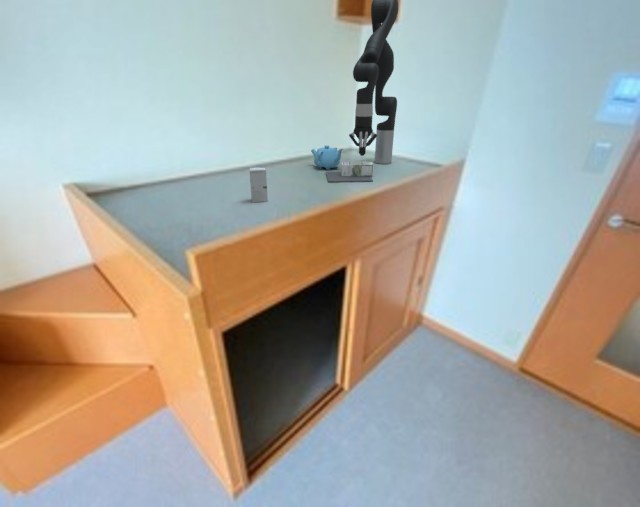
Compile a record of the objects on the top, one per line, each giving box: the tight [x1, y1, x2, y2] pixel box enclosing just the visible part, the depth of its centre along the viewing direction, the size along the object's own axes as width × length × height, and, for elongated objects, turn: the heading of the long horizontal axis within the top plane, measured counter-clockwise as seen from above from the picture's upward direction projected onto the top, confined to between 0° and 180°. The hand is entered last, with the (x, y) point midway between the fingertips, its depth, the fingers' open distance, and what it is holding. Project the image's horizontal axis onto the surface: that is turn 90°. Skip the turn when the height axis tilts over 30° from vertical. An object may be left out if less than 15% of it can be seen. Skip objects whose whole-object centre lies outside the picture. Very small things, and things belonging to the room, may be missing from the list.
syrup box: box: [340, 161, 374, 178], centre depth 164 cm, size 6×6×14 cm
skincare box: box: [248, 166, 269, 203], centre depth 131 cm, size 6×4×12 cm
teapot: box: [310, 144, 344, 171], centre depth 180 cm, size 15×14×11 cm
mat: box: [325, 171, 374, 184], centre depth 165 cm, size 18×20×1 cm
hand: (361, 155), depth 161 cm, fingers closed
